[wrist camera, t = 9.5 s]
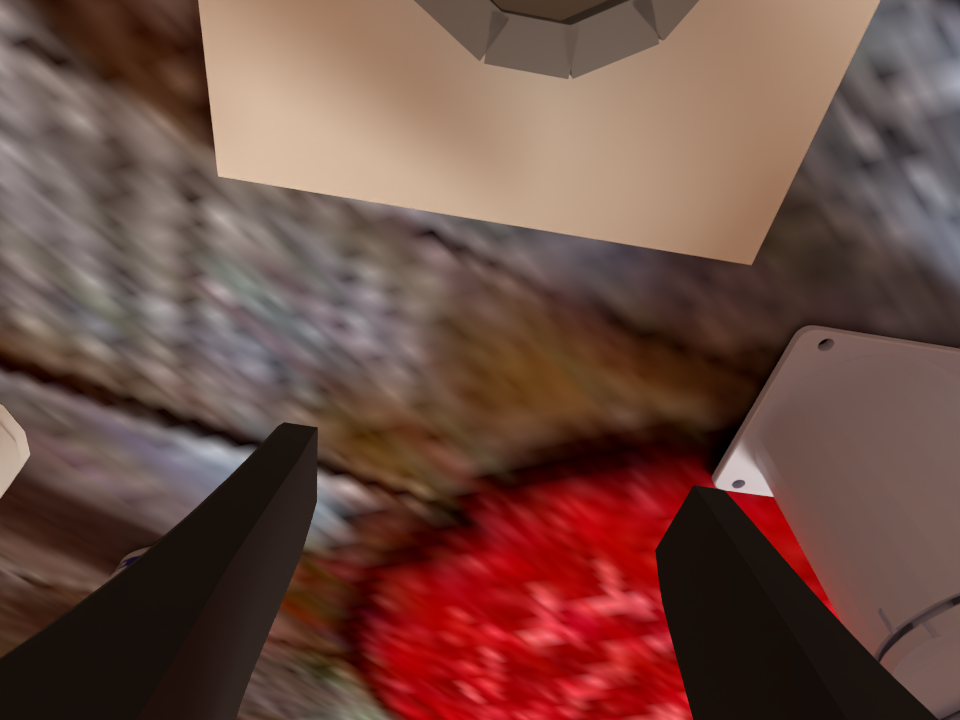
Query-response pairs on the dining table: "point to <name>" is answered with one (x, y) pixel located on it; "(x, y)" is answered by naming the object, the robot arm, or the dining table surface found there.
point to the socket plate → (535, 108)
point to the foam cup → (11, 449)
